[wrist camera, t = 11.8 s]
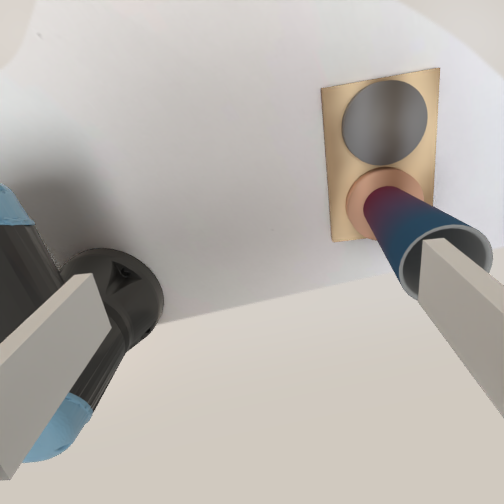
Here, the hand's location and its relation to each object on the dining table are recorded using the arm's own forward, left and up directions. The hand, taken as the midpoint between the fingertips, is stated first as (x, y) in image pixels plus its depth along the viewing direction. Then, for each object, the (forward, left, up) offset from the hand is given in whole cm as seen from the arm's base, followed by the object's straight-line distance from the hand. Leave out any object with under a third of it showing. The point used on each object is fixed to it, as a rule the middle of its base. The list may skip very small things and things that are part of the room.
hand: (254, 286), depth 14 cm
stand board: (+13, -2, -30) cm, 33 cm away
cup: (+13, -7, -27) cm, 31 cm away
